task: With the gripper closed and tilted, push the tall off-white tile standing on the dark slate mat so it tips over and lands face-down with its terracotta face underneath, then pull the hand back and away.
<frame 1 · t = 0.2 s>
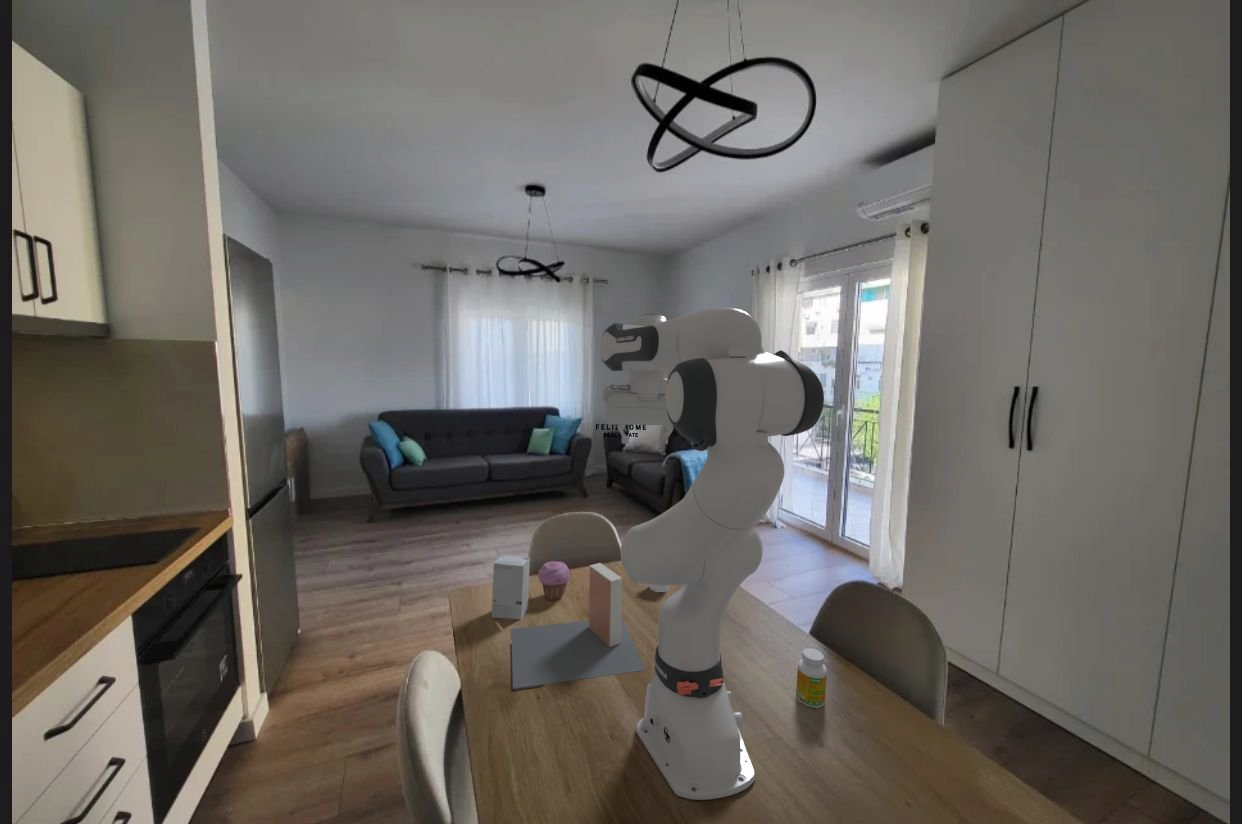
hand: (644, 443, 113), 47 cm above the table, tool pointing down, fingers open, 8 cm apart
cupcake: (554, 597, 135), on the table
skincare box: (511, 614, 126), on the table
slate mat: (574, 649, 110), on the table
glazed tile: (604, 634, 116), resting on slate mat
supplement bottle: (810, 700, 96), on the table
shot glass: (659, 588, 141), on the table
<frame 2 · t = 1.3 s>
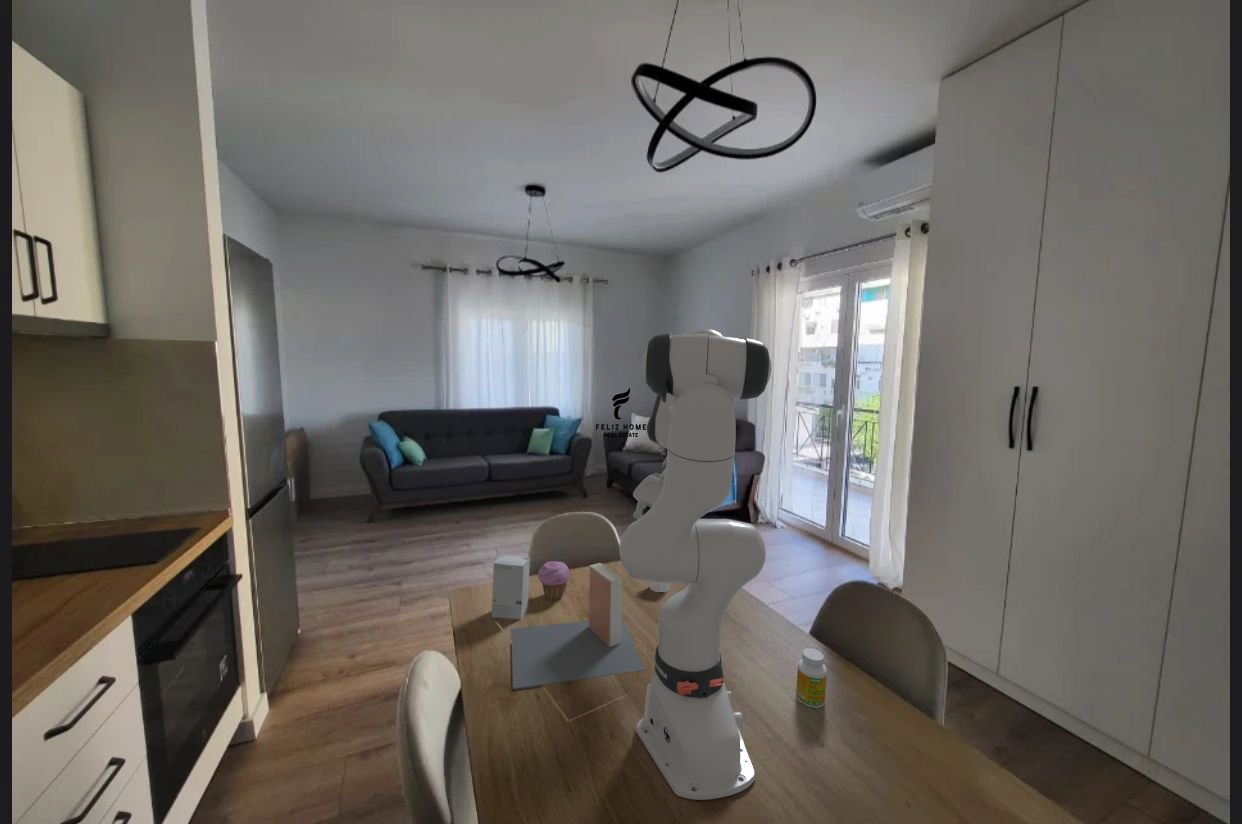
hand: (646, 523, 120), 26 cm above the table, tool tilted 45°, fingers open, 8 cm apart
nothing on the table moved.
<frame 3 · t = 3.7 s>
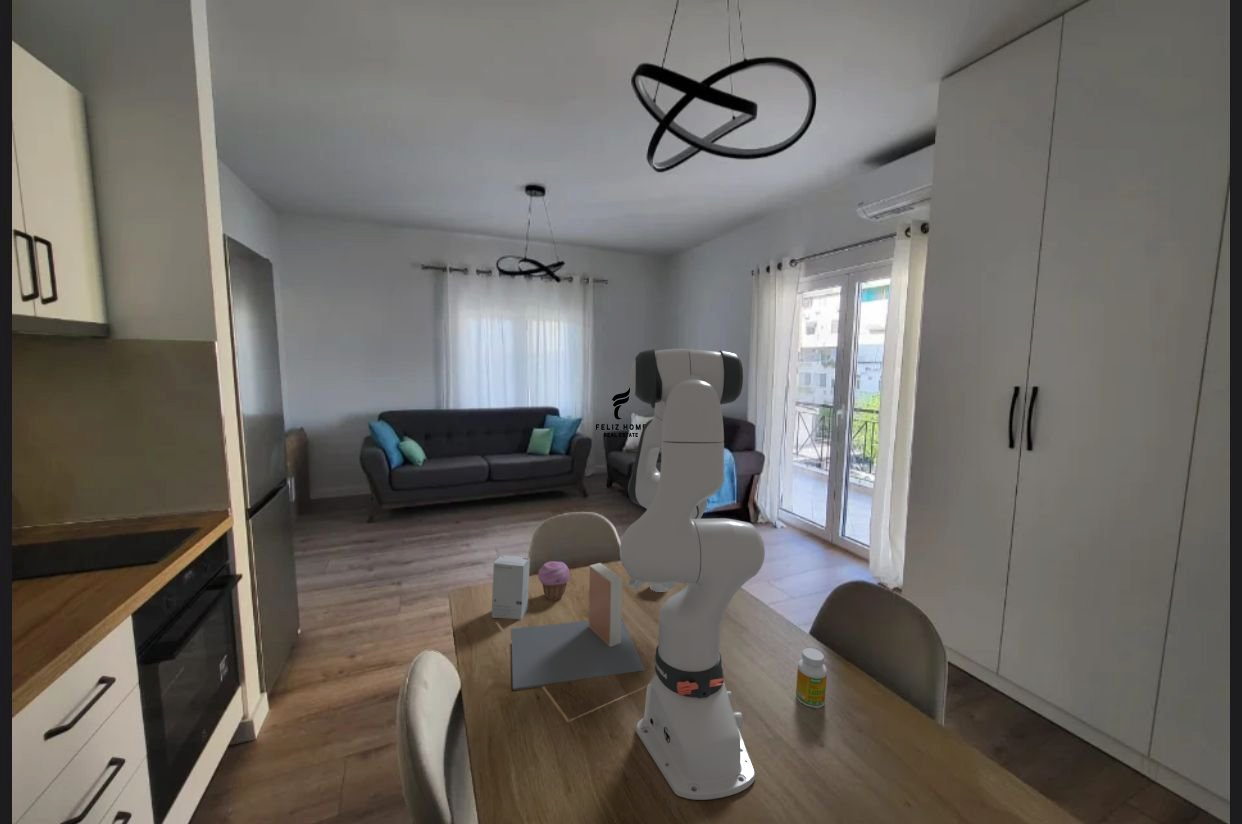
hand: (631, 586, 120), 10 cm above the table, tool tilted 45°, fingers closed
nothing on the table moved.
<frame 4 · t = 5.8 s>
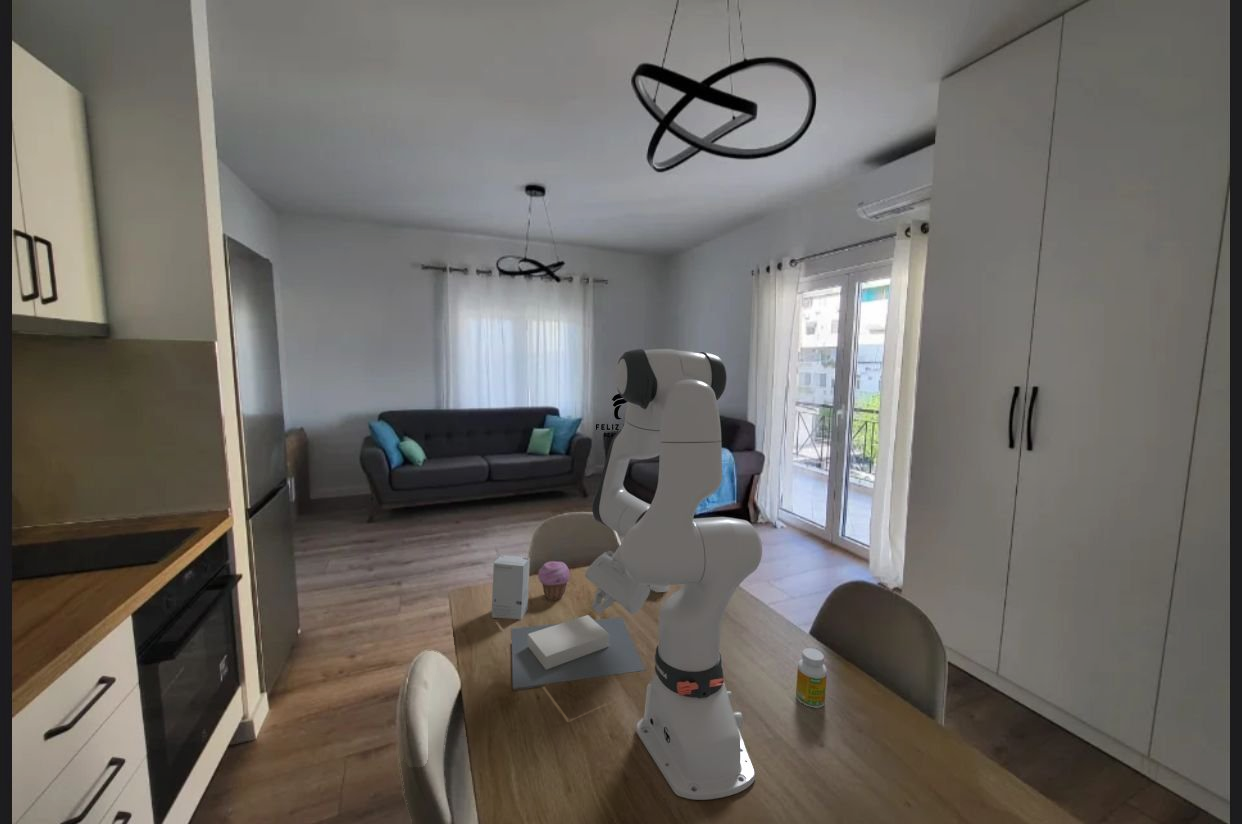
hand: (594, 610, 114), 7 cm above the table, tool tilted 45°, fingers closed
glazed tile: (598, 630, 115), point 2 cm above the table, tilted 90°, touching slate mat
everything else where it was.
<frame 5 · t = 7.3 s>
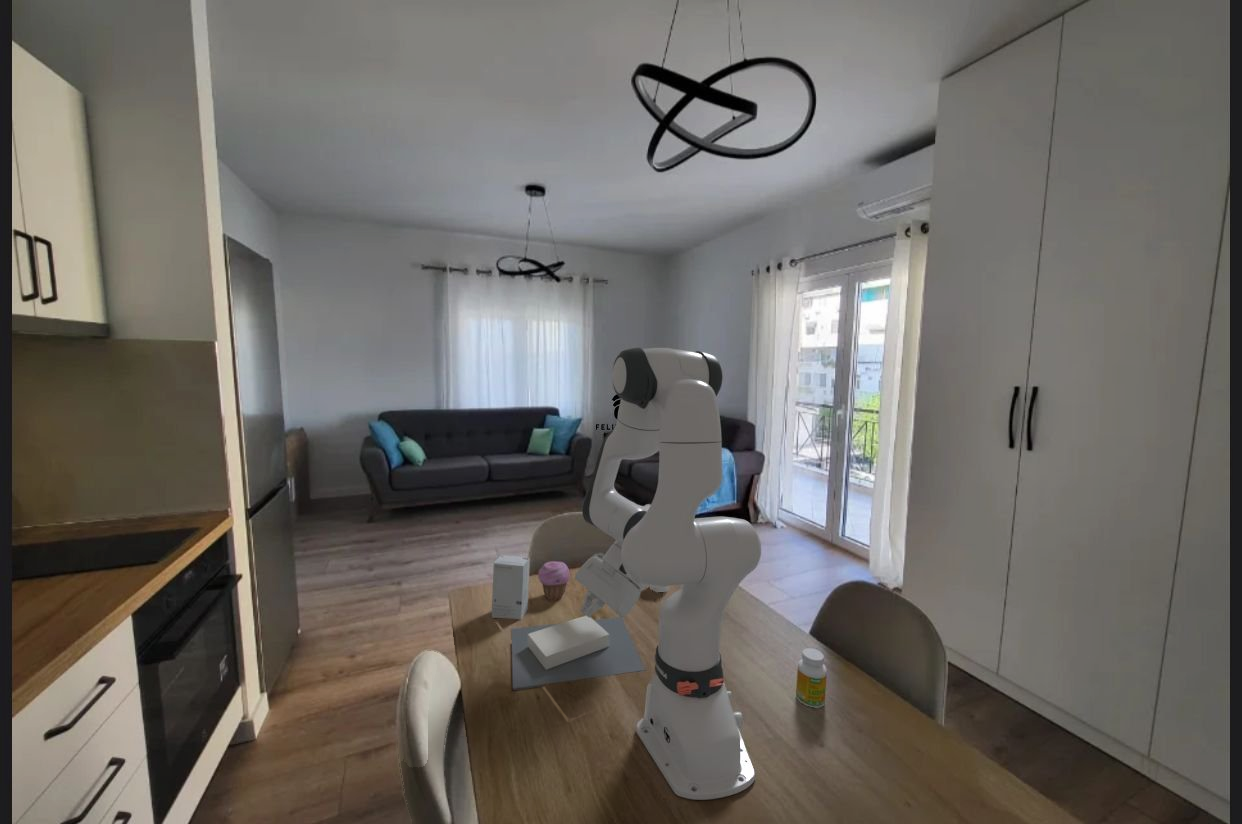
hand: (584, 613, 112), 7 cm above the table, tool tilted 45°, fingers closed
nothing on the table moved.
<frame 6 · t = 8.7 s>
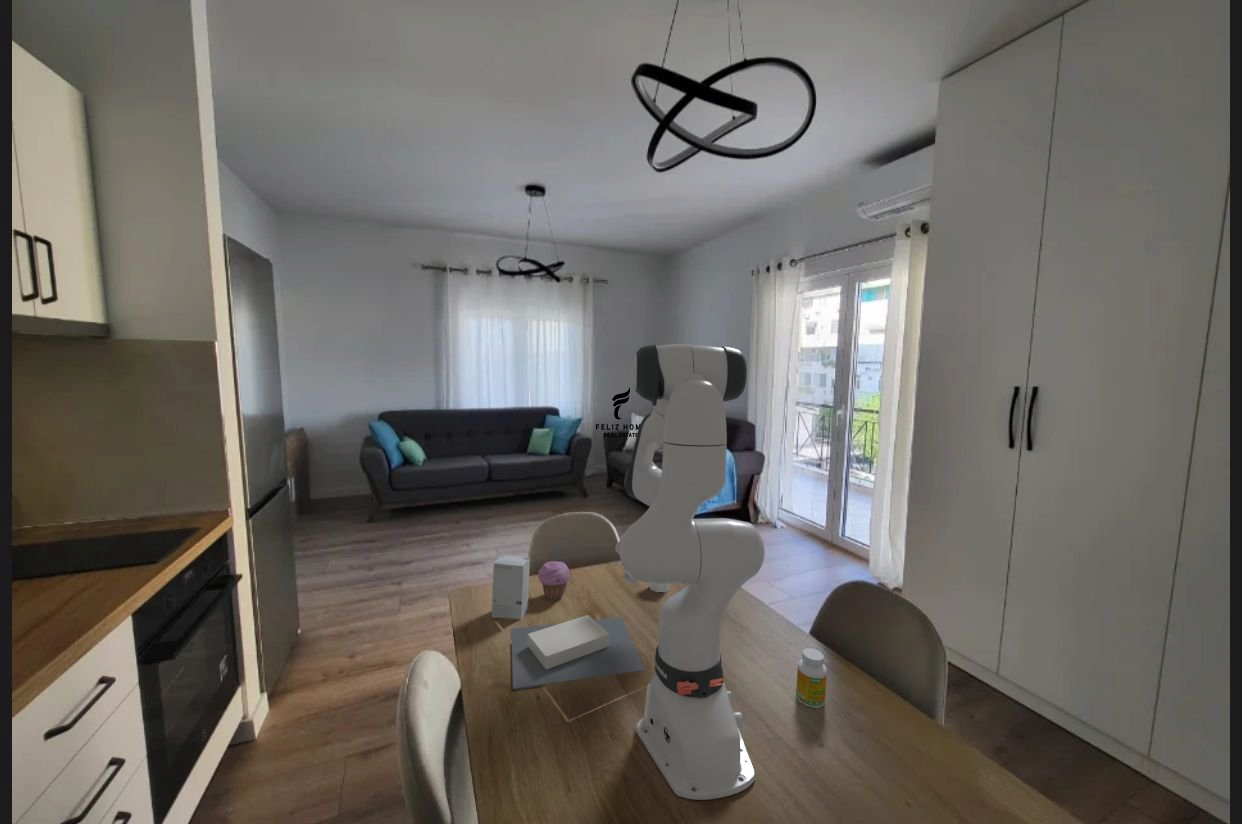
hand: (627, 581, 118), 12 cm above the table, tool tilted 45°, fingers closed
nothing on the table moved.
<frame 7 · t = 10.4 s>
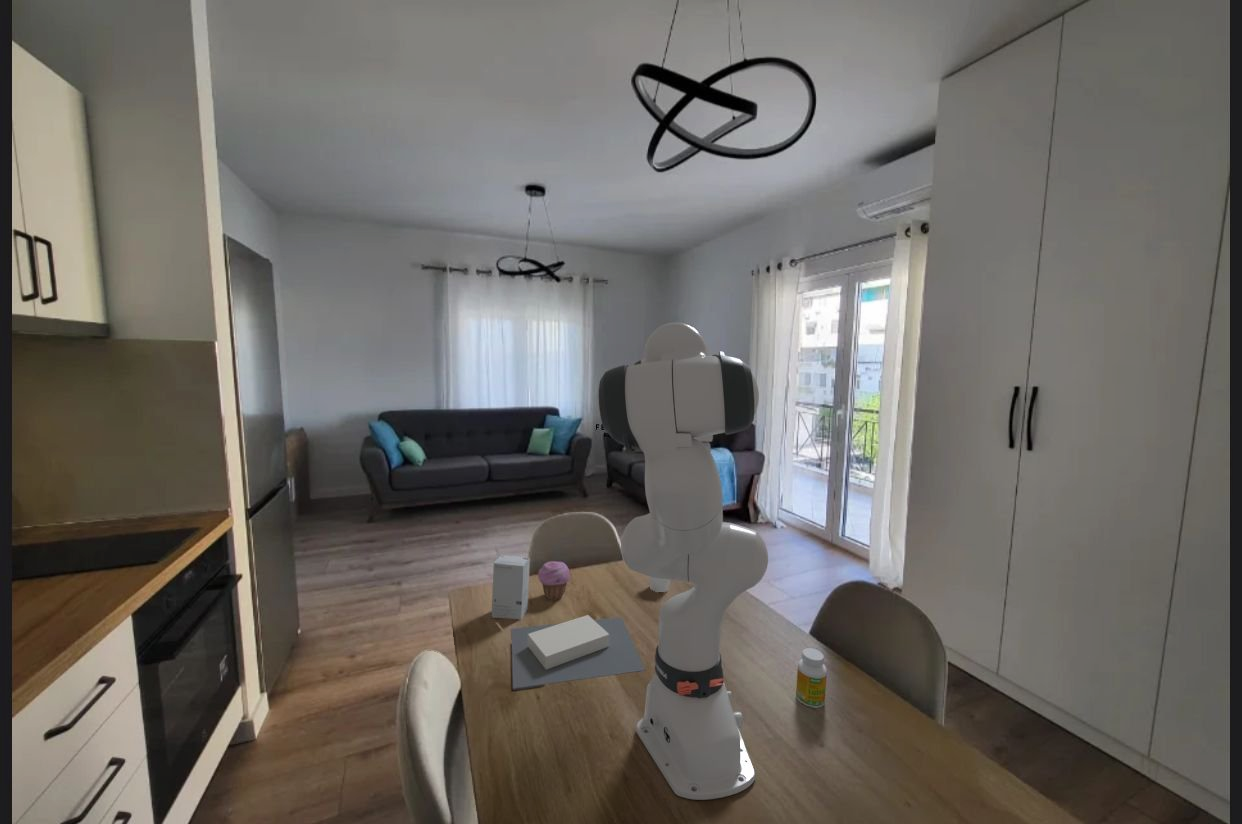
hand: (684, 485, 116), 37 cm above the table, tool pointing down, fingers closed
nothing on the table moved.
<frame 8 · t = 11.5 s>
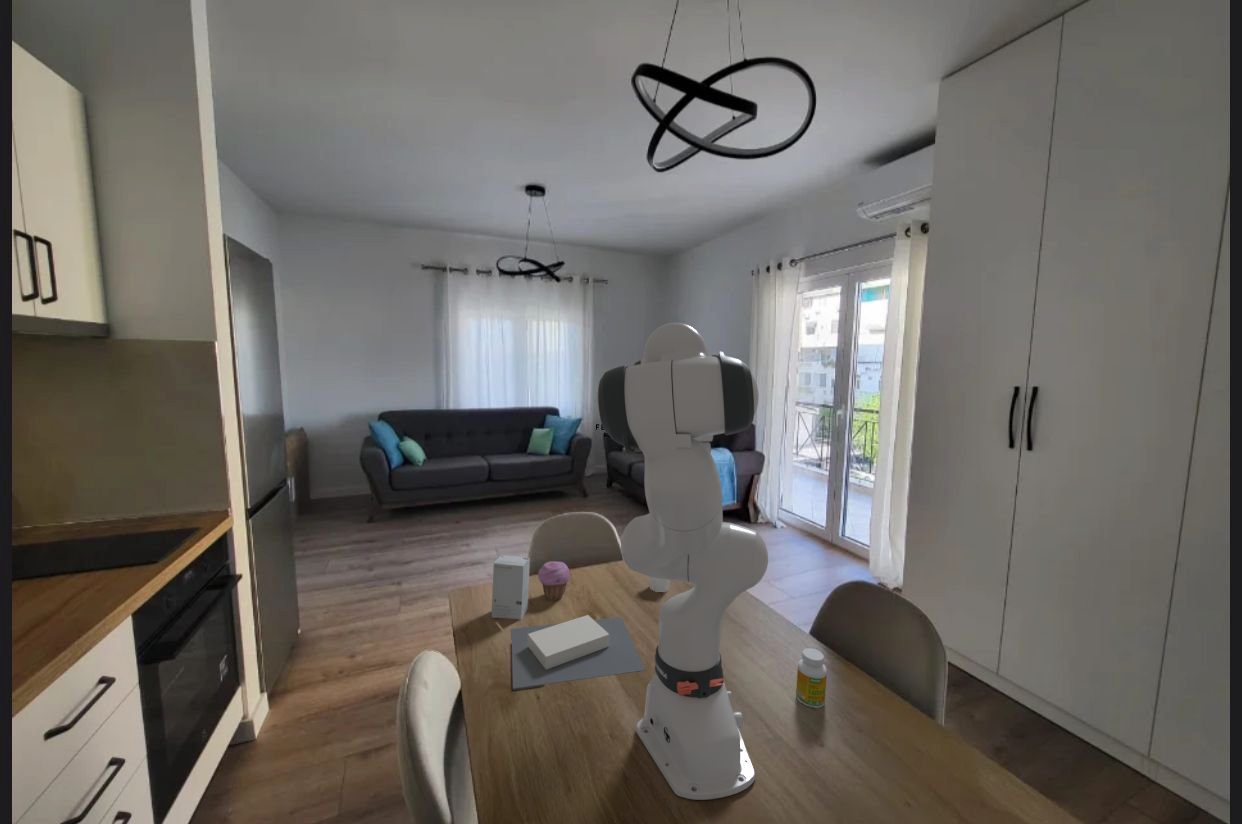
hand: (684, 485, 116), 37 cm above the table, tool pointing down, fingers closed
nothing on the table moved.
at the end: glazed tile tilted 90°; glazed tile inside the target area (2.6 cm from its centre), point 2.1 cm above the table; glazed tile touching slate mat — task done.
